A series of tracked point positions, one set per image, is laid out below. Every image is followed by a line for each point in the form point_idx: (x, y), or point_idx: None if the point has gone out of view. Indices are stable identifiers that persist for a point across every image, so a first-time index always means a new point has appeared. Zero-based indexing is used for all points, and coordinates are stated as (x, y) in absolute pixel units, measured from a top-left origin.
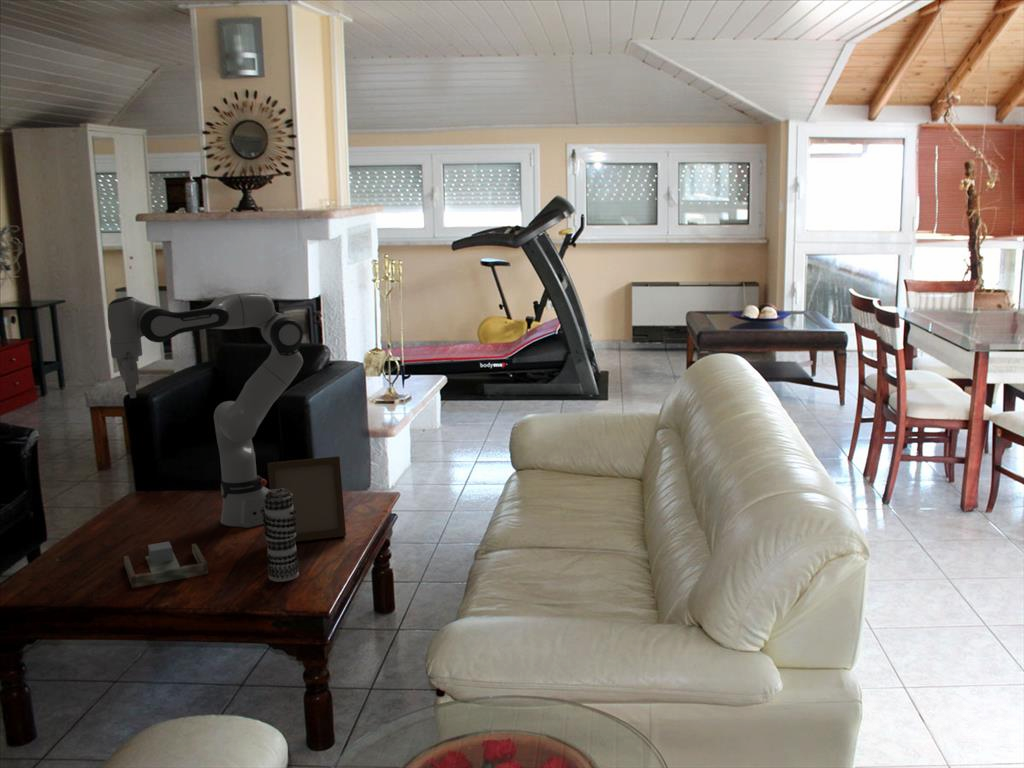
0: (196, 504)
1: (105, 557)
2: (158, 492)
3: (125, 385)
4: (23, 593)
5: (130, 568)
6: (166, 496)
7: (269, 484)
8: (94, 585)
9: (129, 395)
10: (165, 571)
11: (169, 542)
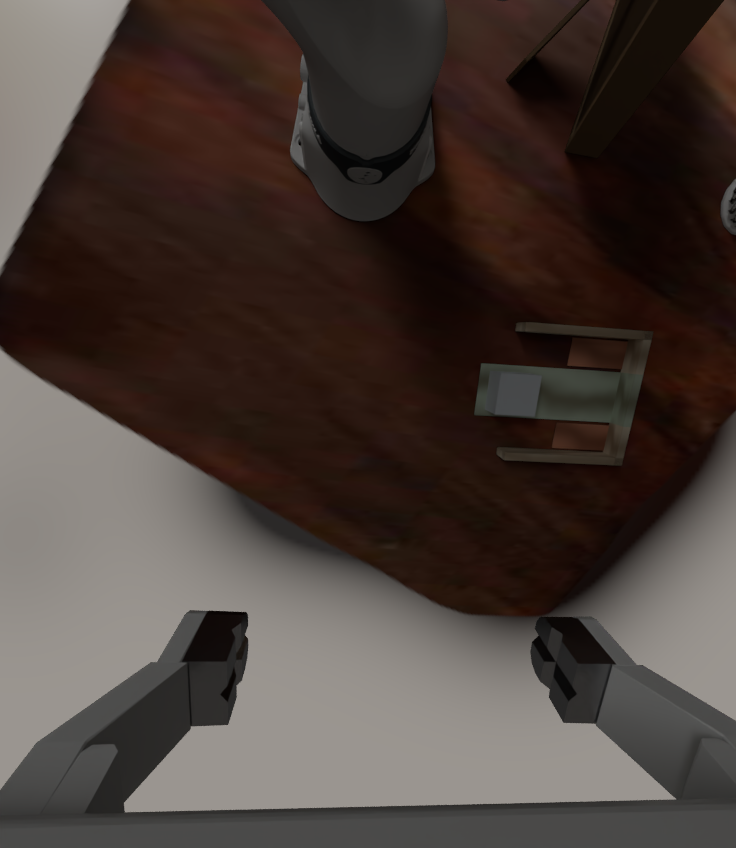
0: (170, 233)
1: (430, 476)
2: (6, 297)
3: (166, 749)
4: (514, 598)
5: (575, 459)
6: (56, 286)
7: (691, 40)
8: (553, 508)
9: (544, 682)
10: (634, 408)
11: (508, 373)
